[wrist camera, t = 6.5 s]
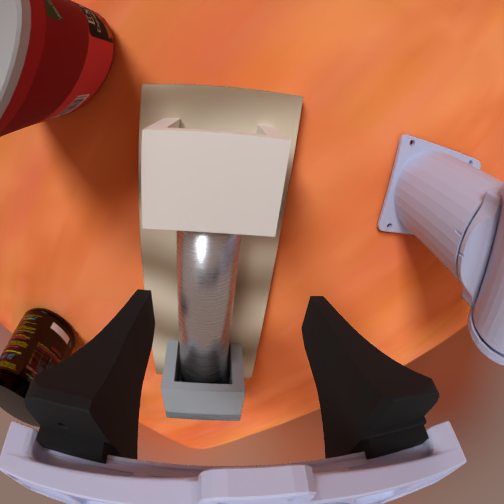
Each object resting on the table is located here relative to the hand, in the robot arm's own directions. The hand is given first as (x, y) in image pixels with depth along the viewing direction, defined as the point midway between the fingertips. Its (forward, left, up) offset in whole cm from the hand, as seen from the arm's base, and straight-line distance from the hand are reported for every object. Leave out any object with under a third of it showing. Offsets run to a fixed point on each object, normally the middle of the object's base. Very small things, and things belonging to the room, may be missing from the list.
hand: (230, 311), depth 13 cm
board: (+1, +4, -10) cm, 11 cm away
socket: (+1, +15, -9) cm, 17 cm away
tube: (+1, +5, -9) cm, 10 cm away
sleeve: (+1, -5, -9) cm, 10 cm away
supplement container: (+18, +14, -10) cm, 25 cm away
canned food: (+12, -11, -10) cm, 20 cm away
